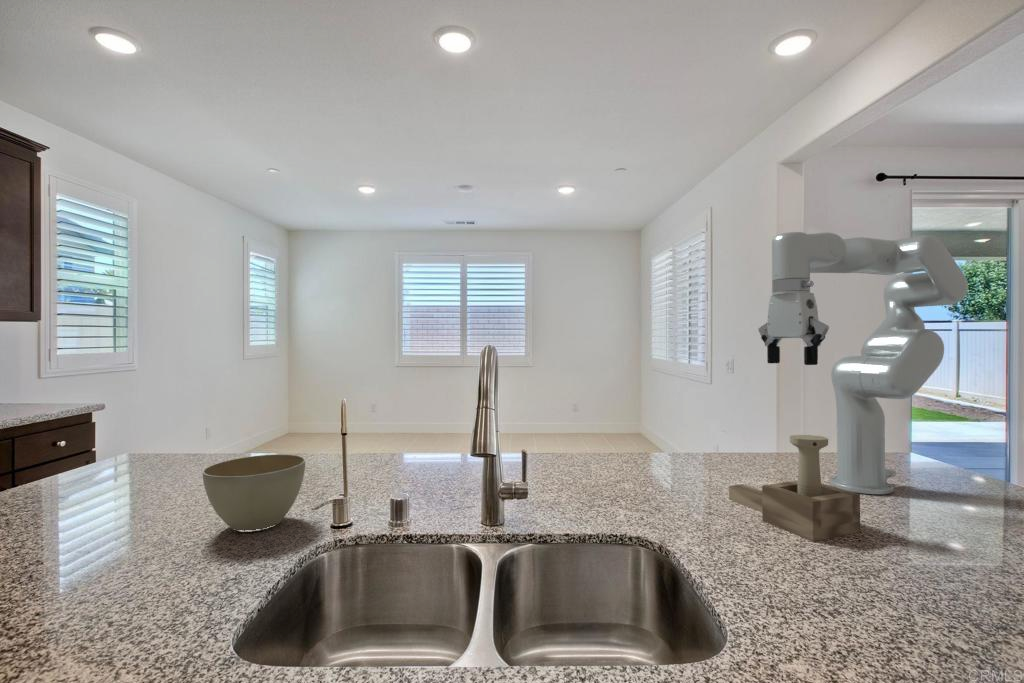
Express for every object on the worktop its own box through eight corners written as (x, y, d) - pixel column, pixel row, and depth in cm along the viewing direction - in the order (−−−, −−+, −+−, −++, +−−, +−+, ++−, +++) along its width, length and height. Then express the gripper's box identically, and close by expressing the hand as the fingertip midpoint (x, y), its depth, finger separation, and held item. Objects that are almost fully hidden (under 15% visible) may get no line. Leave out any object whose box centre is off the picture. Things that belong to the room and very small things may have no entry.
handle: (833, 520, 93) (833, 439, 93) (797, 519, 94) (796, 439, 94) (820, 511, 98) (820, 435, 98) (786, 510, 99) (785, 434, 99)
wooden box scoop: (756, 495, 115) (756, 464, 115) (860, 532, 93) (859, 494, 93) (714, 501, 111) (714, 469, 111) (812, 541, 89) (812, 501, 89)
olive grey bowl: (286, 504, 112) (285, 450, 112) (320, 525, 99) (320, 463, 99) (192, 525, 99) (191, 464, 99) (218, 552, 86) (217, 481, 86)
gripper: (839, 284, 107) (840, 365, 106) (771, 292, 123) (772, 362, 123) (813, 283, 104) (814, 366, 104) (747, 291, 120) (748, 363, 120)
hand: (791, 364), depth 113 cm, fingers open, 9 cm apart
